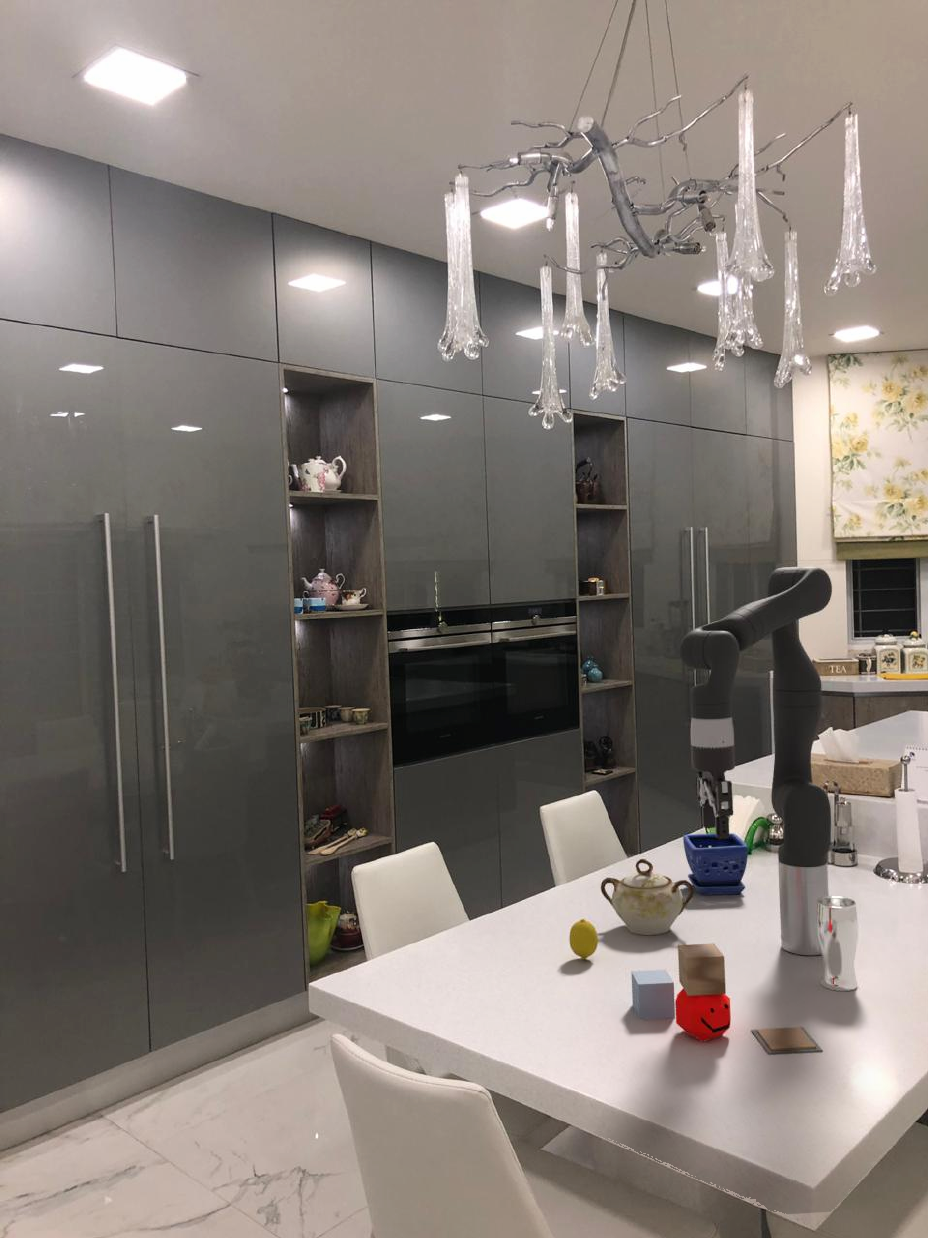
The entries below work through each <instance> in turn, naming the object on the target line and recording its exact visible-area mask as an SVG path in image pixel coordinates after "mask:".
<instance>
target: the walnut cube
mask: <svg viewBox="0 0 928 1238" xmlns="http://www.w3.org/2000/svg"><path fill="white" fill-rule="evenodd" d="M677 957H678V980H679V983H680V985H681V987H682V989H683V988H684V990H685V992H686V993H687V995H688V996H693V995H712V994H725V995H726V993H727V992H726V969H725V968H726V967H725V965H726V964H725V955H724V954H723V952H721V950H720V948H719V947H718V946H717V945H716V943H697V944H695V943H693V944H678V945H677Z"/></svg>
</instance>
